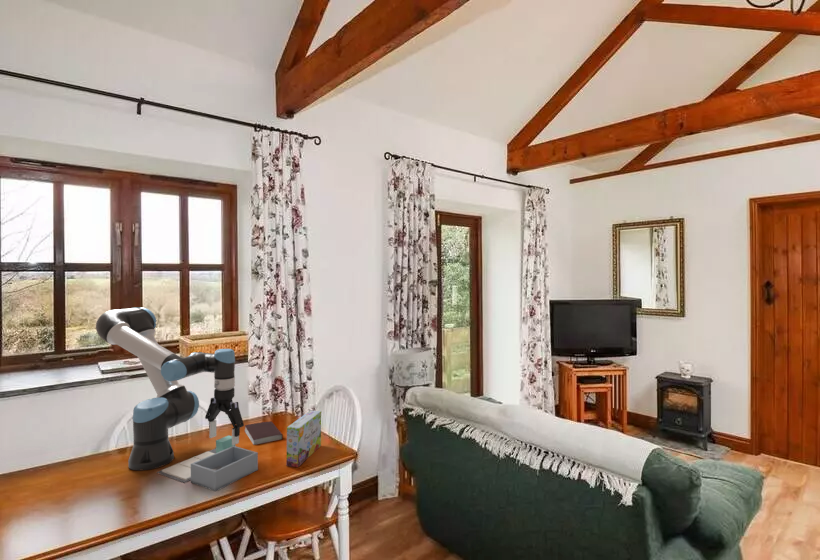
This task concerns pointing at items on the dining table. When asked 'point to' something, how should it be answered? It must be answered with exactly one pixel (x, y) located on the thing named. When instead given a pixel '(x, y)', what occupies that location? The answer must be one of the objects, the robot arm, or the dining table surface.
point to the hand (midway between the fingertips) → (223, 440)
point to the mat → (177, 477)
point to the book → (262, 432)
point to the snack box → (303, 438)
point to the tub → (224, 467)
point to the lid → (184, 468)
